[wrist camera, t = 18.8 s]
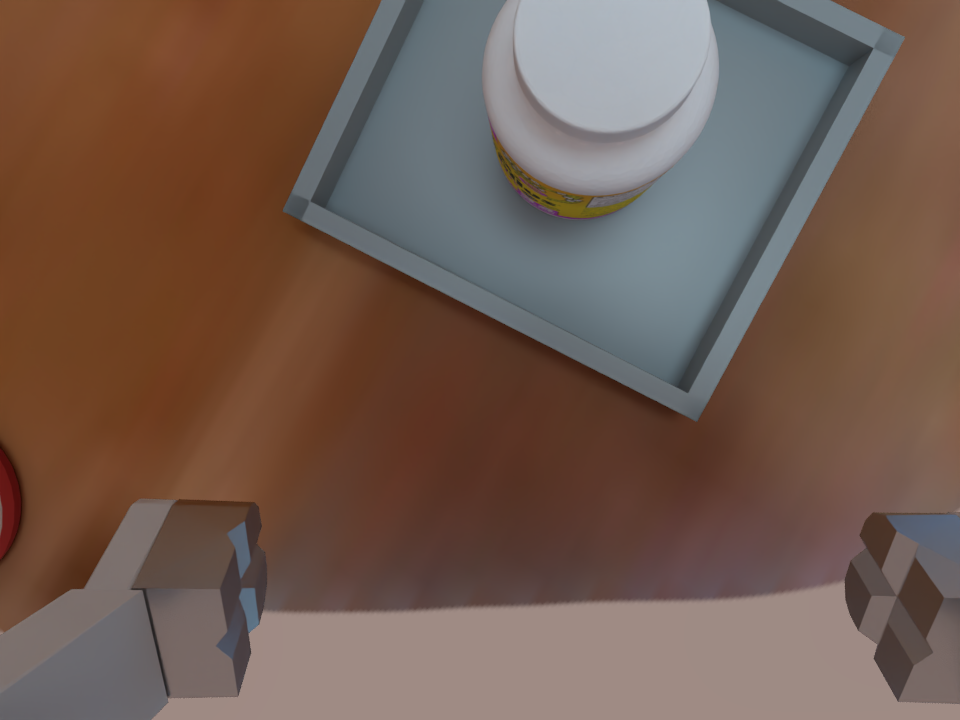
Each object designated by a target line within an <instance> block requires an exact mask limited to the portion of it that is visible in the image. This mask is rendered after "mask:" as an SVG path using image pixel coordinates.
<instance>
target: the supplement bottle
mask: <svg viewBox="0 0 960 720" xmlns="http://www.w3.org/2000/svg"><path fill="white" fill-rule="evenodd" d="M718 80H719V56H718V47H717V42H716V37H715V34H714V30H713V27H712V24H711V19H710V11H709V7H708V3H707V0H507V1H506V2H505V4H504V5H503V7H502V9H501V10H500V12H499V13H498V15H497V17H496V19H495V21H494V23H493V25H492V28H491V31H490V33H489V36H488V39H487V43H486V46H485V51H484V57H483V67H482V87H483V95H484V101H485V106H486V110H487V114H488V118H489V123H490V129H491V132H492V137H493V142H494V145H495V150H496V153H497V157H498V160H499V163H500V166H501V168H502V170H503V172H504V175H505V176H506V178H507V180H508V181H509V183H510V184H511V186H512V187H513V188H514V190H515V191H516V192H517V193H518V194H519V195H520V196H521V197H522V198H523V199H524V200H525V201H527V202H528V203H529V204H530V205H532V206H533V207H535V208H537V209H538V210H540V211H542V212H544V213H547V214H549V215H552V216H555V217H559V218H563V219H569V220H588V219H595V218H599V217H603V216H606V215H609V214H611V213H614V212H616V211H618V210H620V209H622V208H624V207H625V206H627V205H629V204H630V203H632V202H633V201H634V200H636V199H637V198H638V197H639V196H641V195H642V194H643V193H644V192H645V191H646V190H647V189H648V188H650V187H651V186H652V185H653V184H654V183H655V182H656V181H657V180H658V179H659V178H660V177H661V176H663V175H664V174H665V173H666V172H667V171H669V170H670V169H671V168H672V167H673V166H674V165H675V164H676V163H677V162H678V161H679V160H680V159H681V158H682V157H683V156H684V155H685V154H686V153H687V151H688V150H689V149H690V148H691V147H692V145H693V144H694V142H695V141H696V140H697V138H698V137H699V135H700V133H701V132H702V130H703V128H704V126H705V124H706V122H707V120H708V118H709V115H710V113H711V110H712V107H713V104H714V100H715V96H716V91H717V85H718Z"/></svg>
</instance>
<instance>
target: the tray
mask: <svg viewBox="0 0 960 720" xmlns="http://www.w3.org/2000/svg"><path fill="white" fill-rule="evenodd" d="M506 1H507V0H382V1H381V3H380V5H379V8H378V10H377V12H376V14H375V16H374V18H373V20H372V22H371V24H370V27H369V29H368V31H367V33H366V35H365V37H364V39H363V41H362V44H361V46H360V48H359V50H358V52H357V54H356V56H355V58H354V61H353V63H352V65H351V67H350V69H349V71H348V73H347V75H346V78H345V80H344V82H343V84H342V86H341V88H340V90H339V92H338V94H337V97H336V99H335V101H334V103H333V105H332V107H331V109H330V111H329V114H328V116H327V118H326V120H325V122H324V124H323V126H322V128H321V131H320V133H319V135H318V137H317V139H316V141H315V143H314V145H313V147H312V150H311V152H310V154H309V156H308V158H307V160H306V162H305V164H304V167H303V169H302V171H301V173H300V175H299V177H298V179H297V181H296V184H295V186H294V188H293V190H292V192H291V194H290V196H289V198H288V201H287V203H286V205H285V207H284V209H283V212H285V213H287V214H289V215H291V216H293V217H295V218H297V219H299V220H301V221H303V222H305V223H307V224H309V225H311V226H313V227H315V228H317V229H319V230H321V231H323V232H325V233H327V234H329V235H331V236H333V237H335V238H336V239H338V240H340V241H342V242H344V243H346V244H348V245H350V246H352V247H354V248H356V249H358V250H360V251H362V252H364V253H366V254H368V255H370V256H372V257H374V258H376V259H378V260H380V261H382V262H384V263H386V264H388V265H390V266H392V267H393V268H395V269H397V270H399V271H401V272H403V273H405V274H407V275H409V276H411V277H413V278H415V279H417V280H419V281H421V282H423V283H425V284H427V285H429V286H431V287H433V288H435V289H437V290H439V291H441V292H443V293H445V294H447V295H449V296H451V297H452V298H454V299H456V300H458V301H460V302H462V303H464V304H466V305H468V306H470V307H472V308H474V309H476V310H478V311H480V312H482V313H484V314H486V315H488V316H490V317H492V318H494V319H496V320H498V321H500V322H502V323H504V324H506V325H508V326H510V327H511V328H513V329H515V330H517V331H519V332H521V333H523V334H525V335H527V336H529V337H531V338H533V339H535V340H537V341H539V342H541V343H543V344H545V345H547V346H549V347H551V348H553V349H555V350H557V351H559V352H561V353H563V354H565V355H567V356H569V357H570V358H572V359H574V360H576V361H578V362H580V363H582V364H584V365H586V366H588V367H590V368H592V369H594V370H596V371H598V372H600V373H602V374H604V375H606V376H608V377H610V378H612V379H614V380H616V381H618V382H620V383H622V384H624V385H626V386H628V387H629V388H631V389H633V390H635V391H637V392H639V393H641V394H643V395H645V396H647V397H649V398H651V399H653V400H655V401H657V402H659V403H661V404H663V405H665V406H667V407H669V408H671V409H673V410H675V411H677V412H679V413H681V414H683V415H685V416H687V417H688V418H690V419H692V420H694V421H696V422H697V421H698V419H699V417H700V415H701V414H702V412H703V410H704V408H705V406H706V404H707V402H708V401H709V399H710V397H711V395H712V393H713V391H714V390H715V388H716V386H717V384H718V382H719V380H720V378H721V377H722V375H723V373H724V371H725V369H726V367H727V366H728V364H729V362H730V360H731V358H732V356H733V354H734V353H735V351H736V349H737V347H738V345H739V343H740V341H741V340H742V338H743V336H744V334H745V332H746V330H747V329H748V327H749V325H750V323H751V321H752V319H753V317H754V316H755V314H756V312H757V310H758V308H759V306H760V305H761V303H762V301H763V299H764V297H765V295H766V293H767V292H768V290H769V288H770V286H771V284H772V282H773V280H774V279H775V277H776V275H777V273H778V271H779V269H780V268H781V266H782V264H783V262H784V260H785V258H786V256H787V255H788V253H789V251H790V249H791V247H792V245H793V244H794V242H795V240H796V238H797V236H798V234H799V232H800V231H801V229H802V227H803V225H804V223H805V221H806V219H807V218H808V216H809V214H810V212H811V210H812V208H813V207H814V205H815V203H816V201H817V199H818V197H819V195H820V194H821V192H822V190H823V188H824V186H825V184H826V183H827V181H828V179H829V177H830V175H831V173H832V171H833V170H834V168H835V166H836V164H837V162H838V160H839V158H840V157H841V155H842V153H843V151H844V149H845V147H846V146H847V144H848V142H849V140H850V138H851V136H852V134H853V133H854V131H855V129H856V127H857V125H858V123H859V122H860V120H861V118H862V116H863V114H864V112H865V110H866V109H867V107H868V105H869V103H870V101H871V99H872V97H873V96H874V94H875V92H876V90H877V88H878V86H879V85H880V83H881V81H882V79H883V77H884V75H885V73H886V72H887V70H888V68H889V66H890V64H891V62H892V61H893V59H894V57H895V55H896V53H897V51H898V49H899V48H900V46H901V44H902V42H903V40H904V38H905V37H903V36H901V35H899V34H897V33H895V32H893V31H891V30H889V29H887V28H885V27H883V26H881V25H879V24H877V23H875V22H873V21H871V20H869V19H867V18H865V17H863V16H861V15H859V14H857V13H855V12H853V11H851V10H848V9H846V8H844V7H842V6H840V5H838V4H836V3H834V2H832V1H830V0H707V3H708V7H709V11H710V19H711V24H712V27H713V30H714V34H715V37H716V42H717V47H718V56H719V80H718V85H717V91H716V96H715V100H714V104H713V107H712V110H711V113H710V115H709V118H708V120H707V122H706V124H705V126H704V128H703V130H702V132H701V133H700V135H699V137H698V138H697V140H696V141H695V142H694V144H693V145H692V147H691V148H690V149H689V150H688V151H687V153H686V154H685V155H684V156H683V157H682V158H681V159H680V160H679V161H678V162H677V163H676V164H675V165H674V166H673V167H672V168H671V169H670V170H669V171H667V172H666V173H665V174H664V175H663V176H661V177H660V178H659V179H658V180H657V181H656V182H655V183H654V184H653V185H652V186H651V187H650V188H648V189H647V190H646V191H645V192H644V193H643V194H642V195H641V196H639V197H638V198H637V199H636V200H634V201H633V202H632V203H630V204H629V205H627V206H625V207H624V208H622V209H620V210H618V211H616V212H614V213H611V214H609V215H606V216H603V217H599V218H595V219H588V220H569V219H563V218H559V217H555V216H552V215H549V214H547V213H544V212H542V211H540V210H538V209H537V208H535V207H533V206H532V205H530V204H529V203H528V202H527V201H525V200H524V199H523V198H522V197H521V196H520V195H519V194H518V193H517V192H516V191H515V190H514V188H513V187H512V186H511V184H510V183H509V181H508V180H507V178H506V176H505V175H504V172H503V170H502V168H501V166H500V163H499V160H498V157H497V153H496V150H495V145H494V142H493V137H492V132H491V129H490V123H489V118H488V114H487V110H486V106H485V101H484V95H483V87H482V67H483V57H484V51H485V46H486V43H487V39H488V36H489V33H490V31H491V28H492V25H493V23H494V21H495V19H496V17H497V15H498V13H499V12H500V10H501V9H502V7H503V5H504V4H505V2H506Z"/></svg>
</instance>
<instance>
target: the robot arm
mask: <svg viewBox="0 0 960 720" xmlns="http://www.w3.org/2000/svg"><path fill="white" fill-rule="evenodd" d="M261 527H262V524H261V518H260V512H259V507H258V506H257V504H256V503H255V502H234V501H208V500H182V499H179V500H167V499H139V500H138V501H136V502H135V503H133V504H132V505H131V506H130V508H129V510H128V511H127V513H126V515H125V517H124V518H123V520H122V522H121V524H120V526H119V527H118V529H117V531H116V533H115V534H114V536H113V538H112V540H111V541H110V543H109V545H108V547H107V549H106V550H105V552H104V554H103V556H102V557H101V559H100V561H99V563H98V564H97V566H96V568H95V570H94V571H93V573H92V575H91V577H90V579H89V580H88V582H87V584H86V586H85V587H84V589H71V590H70V591H68V592H66V593H65V594H63V595H62V596H60V597H59V598H57V599H56V600H54V601H53V602H51V603H49V604H48V605H46V606H45V607H43V608H42V609H40V610H39V611H37V612H36V613H34V614H32V615H31V616H29V617H28V618H26V619H25V620H23V621H22V622H20V623H18V624H17V625H15V626H14V627H12V628H11V629H9V630H8V631H6V632H5V633H3V634H1V635H0V720H151V719H152V718H153V717H154V716H155V715H156V714H157V713H158V712H159V711H160V710H161V709H162V708H163V707H164V706H165V705H166V704H167V703H168V698H202V697H238V695H239V692H240V689H241V685H242V682H243V678H244V675H245V671H246V668H247V664H248V661H249V658H250V654H251V648H250V641H249V634H248V633H250V632H251V631H252V630H253V629H254V628H255V627H257V626H258V625H259V623H260V619H261V615H262V612H263V608H264V602H265V594H266V587H267V564H266V556H265V552H264V551H263V550H262V549H261V548H260V547H259V546H258V545H257V544H256V543H257V540H258V537H259V534H260V531H261ZM860 537H861V539H862V541H863V543H864V545H865V546H866V549H864V550H863V551H862V552H861V553H859V554H858V555H857V556H856V557H854V558H853V559H852V560H851V561H850V564H849V567H848V571H847V574H846V577H845V598H846V603H847V606H848V610H849V613H850V616H851V618H852V620H853V622H854V623H855V625H856V627H857V629H858V631H860V632H861V633H862V634H864V635H865V636H866V637H868V638H869V639H871V640H872V641H873V642H875V643H876V644H877V649H876V652H875V656H874V660H875V662H876V663H877V665H878V667H879V669H880V670H881V672H882V674H883V676H884V677H885V679H886V681H887V683H888V685H889V686H890V688H891V690H892V692H893V694H894V695H895V697H896V699H897V701H898V702H922V703H950V704H951V703H952V704H960V512H948V513H946V514H945V513H875V512H873V513H872V514H871V515H870V516H869V517H868V518H867V519H866V520H865V522H864V525H863V528H862V530H861V533H860Z"/></svg>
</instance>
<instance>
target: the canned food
mask: <svg viewBox="0 0 960 720" xmlns="http://www.w3.org/2000/svg"><path fill="white" fill-rule="evenodd" d="M20 517H21V496H20V490H19V484H18V481H17V478H16V475H15V472H14V470H13V467H12V465H11V463H10V462H9V460H8V458H7V457H6V455H5V453H4V452H3V451H2V449H1V448H0V560H1V559H2V557H3V556H4V555H5V553H6V552H7V551H8V549H9V548H10V546H11V545H12V542H13V540H14V538H15V536H16V533H17V531H18V526H19V522H20Z"/></svg>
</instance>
